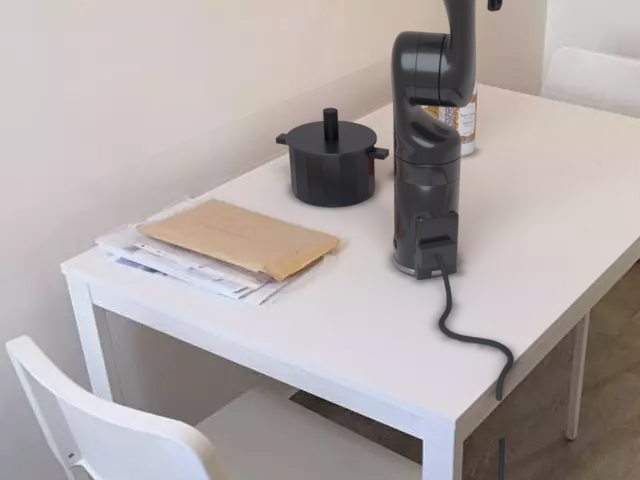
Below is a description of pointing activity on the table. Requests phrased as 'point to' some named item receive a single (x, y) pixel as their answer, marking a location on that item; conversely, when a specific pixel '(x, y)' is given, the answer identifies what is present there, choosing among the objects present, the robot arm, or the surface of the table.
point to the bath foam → (463, 122)
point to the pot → (333, 176)
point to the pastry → (432, 111)
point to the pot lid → (331, 137)
